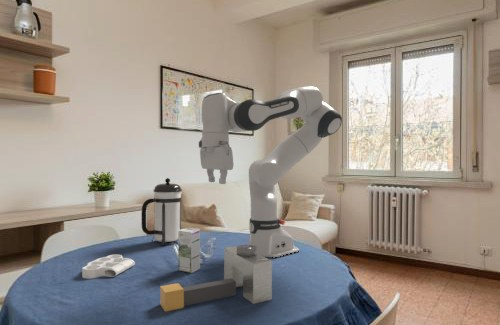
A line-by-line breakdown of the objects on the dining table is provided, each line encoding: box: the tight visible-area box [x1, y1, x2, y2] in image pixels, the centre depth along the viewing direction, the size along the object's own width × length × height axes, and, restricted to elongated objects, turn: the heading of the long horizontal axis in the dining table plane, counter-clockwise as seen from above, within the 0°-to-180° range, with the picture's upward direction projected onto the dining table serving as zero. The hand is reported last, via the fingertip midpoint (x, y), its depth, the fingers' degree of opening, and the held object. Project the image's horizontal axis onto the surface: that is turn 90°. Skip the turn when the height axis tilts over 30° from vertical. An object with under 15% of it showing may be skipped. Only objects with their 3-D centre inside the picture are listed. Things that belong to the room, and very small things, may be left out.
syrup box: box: [177, 227, 201, 274], centre depth 123 cm, size 6×6×14 cm
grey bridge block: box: [223, 244, 273, 305], centre depth 105 cm, size 6×19×13 cm, turn 29°
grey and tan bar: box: [159, 278, 237, 312], centre depth 97 cm, size 21×5×5 cm, turn 119°
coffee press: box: [141, 177, 183, 247], centre depth 161 cm, size 17×16×30 cm
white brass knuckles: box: [81, 254, 136, 280], centre depth 123 cm, size 3×18×15 cm
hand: (217, 182), depth 117 cm, fingers open, 8 cm apart
